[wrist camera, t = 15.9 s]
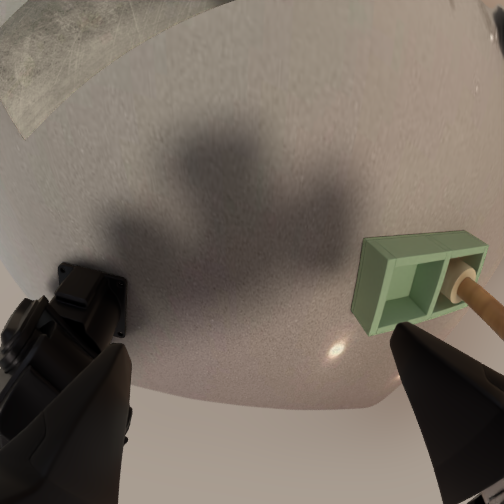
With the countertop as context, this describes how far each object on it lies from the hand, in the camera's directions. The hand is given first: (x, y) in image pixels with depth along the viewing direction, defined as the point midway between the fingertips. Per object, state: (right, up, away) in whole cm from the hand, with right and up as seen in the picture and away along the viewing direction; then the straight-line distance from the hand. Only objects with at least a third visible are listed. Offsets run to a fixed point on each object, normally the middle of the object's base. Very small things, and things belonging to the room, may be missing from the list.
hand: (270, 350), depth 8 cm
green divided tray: (+16, +1, +16) cm, 23 cm away
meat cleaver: (-6, +24, +3) cm, 24 cm away
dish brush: (+19, +1, +16) cm, 25 cm away
